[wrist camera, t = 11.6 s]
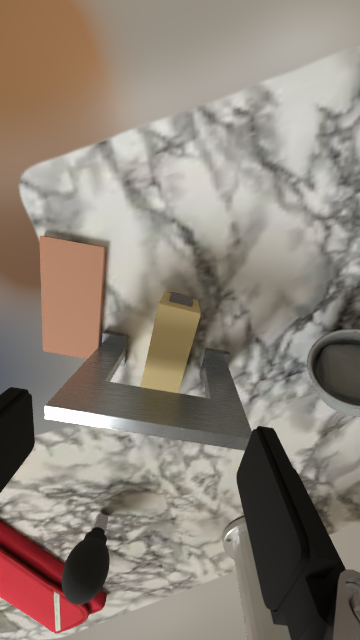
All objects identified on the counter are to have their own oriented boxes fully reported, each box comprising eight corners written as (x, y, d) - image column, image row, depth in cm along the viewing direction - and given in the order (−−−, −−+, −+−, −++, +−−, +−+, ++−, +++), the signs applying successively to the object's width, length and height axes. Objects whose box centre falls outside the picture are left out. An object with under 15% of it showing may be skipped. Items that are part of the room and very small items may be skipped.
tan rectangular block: (198, 295, 25) (202, 308, 19) (174, 383, 29) (171, 415, 23) (165, 287, 25) (160, 298, 19) (146, 376, 29) (136, 407, 23)
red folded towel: (-50, 479, 37) (-75, 503, 33) (110, 590, 46) (104, 618, 43) (-98, 513, 40) (-126, 538, 36) (61, 610, 49) (51, 638, 46)
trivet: (106, 247, 24) (104, 247, 23) (99, 358, 28) (97, 360, 27) (43, 236, 23) (39, 235, 23) (46, 349, 28) (43, 351, 27)
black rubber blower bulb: (80, 517, 38) (45, 606, 29) (93, 496, 36) (60, 583, 27) (113, 529, 39) (89, 620, 29) (127, 509, 37) (107, 598, 28)
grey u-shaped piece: (228, 352, 27) (260, 425, 16) (221, 378, 28) (245, 464, 17) (104, 330, 27) (44, 390, 15) (102, 358, 28) (45, 432, 17)
